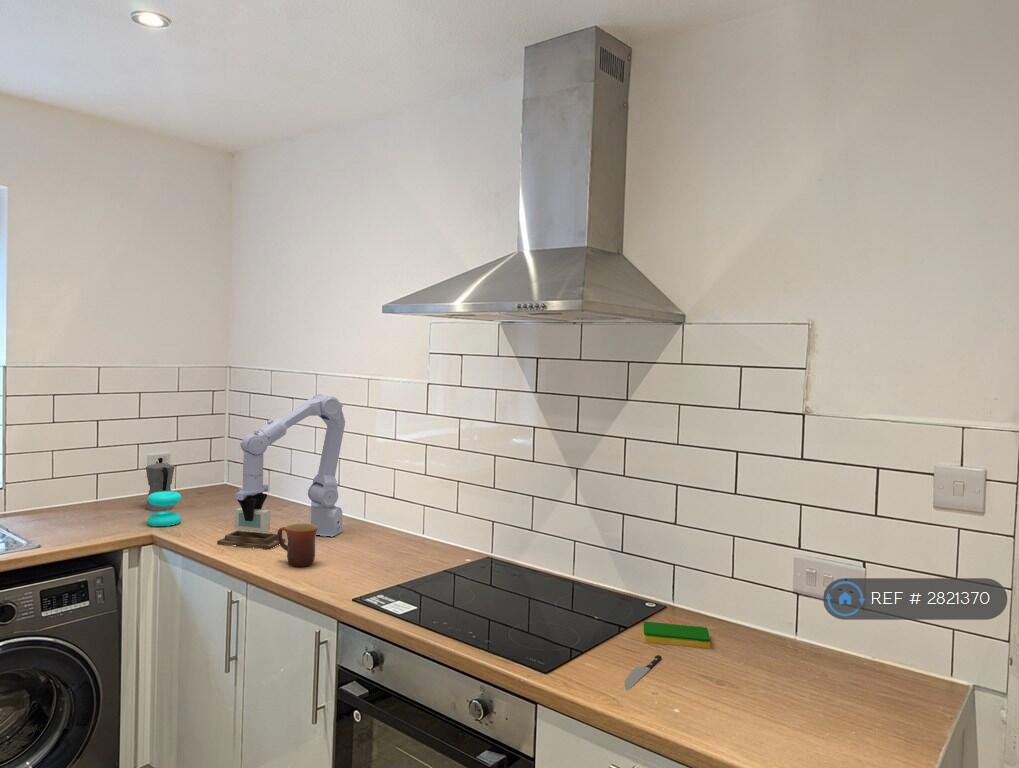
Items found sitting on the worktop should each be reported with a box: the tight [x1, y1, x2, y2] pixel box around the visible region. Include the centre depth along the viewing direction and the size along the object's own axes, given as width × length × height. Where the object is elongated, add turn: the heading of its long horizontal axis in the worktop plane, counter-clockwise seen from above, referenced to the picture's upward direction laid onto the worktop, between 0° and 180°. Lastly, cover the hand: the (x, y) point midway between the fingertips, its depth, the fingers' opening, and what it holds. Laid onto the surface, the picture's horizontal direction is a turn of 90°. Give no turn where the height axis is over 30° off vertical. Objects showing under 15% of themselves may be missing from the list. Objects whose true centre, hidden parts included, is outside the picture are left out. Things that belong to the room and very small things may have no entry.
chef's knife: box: [623, 654, 662, 691], centre depth 144 cm, size 19×1×3 cm
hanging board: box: [216, 530, 286, 550], centre depth 223 cm, size 17×9×2 cm, turn 78°
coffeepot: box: [145, 457, 176, 512], centre depth 262 cm, size 15×9×18 cm, turn 37°
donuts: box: [147, 490, 182, 527], centre depth 242 cm, size 10×10×10 cm
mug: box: [276, 523, 318, 568], centre depth 205 cm, size 12×9×10 cm
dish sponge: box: [642, 620, 711, 649], centre depth 162 cm, size 7×14×2 cm, turn 80°
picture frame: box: [233, 507, 271, 533], centre depth 223 cm, size 10×3×6 cm, turn 78°
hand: (252, 519), depth 223 cm, fingers closed on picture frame, 3 cm apart
